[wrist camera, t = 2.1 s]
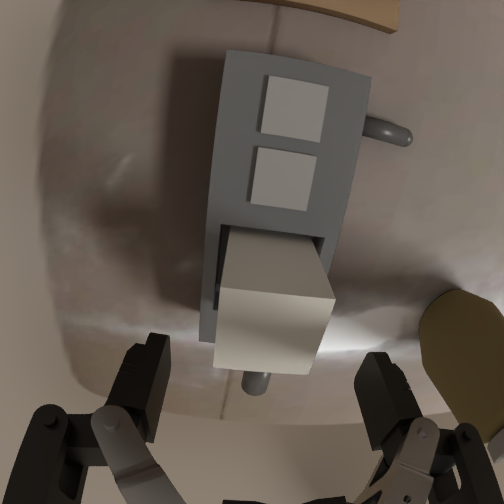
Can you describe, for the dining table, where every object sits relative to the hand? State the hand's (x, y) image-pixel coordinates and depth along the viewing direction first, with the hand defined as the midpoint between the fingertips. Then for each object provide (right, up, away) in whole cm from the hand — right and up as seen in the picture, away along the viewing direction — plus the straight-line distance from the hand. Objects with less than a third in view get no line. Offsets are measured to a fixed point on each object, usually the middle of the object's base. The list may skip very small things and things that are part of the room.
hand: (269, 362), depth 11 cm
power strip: (+3, +7, +7) cm, 10 cm away
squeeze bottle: (+16, -1, +11) cm, 20 cm away
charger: (0, +3, +8) cm, 8 cm away
